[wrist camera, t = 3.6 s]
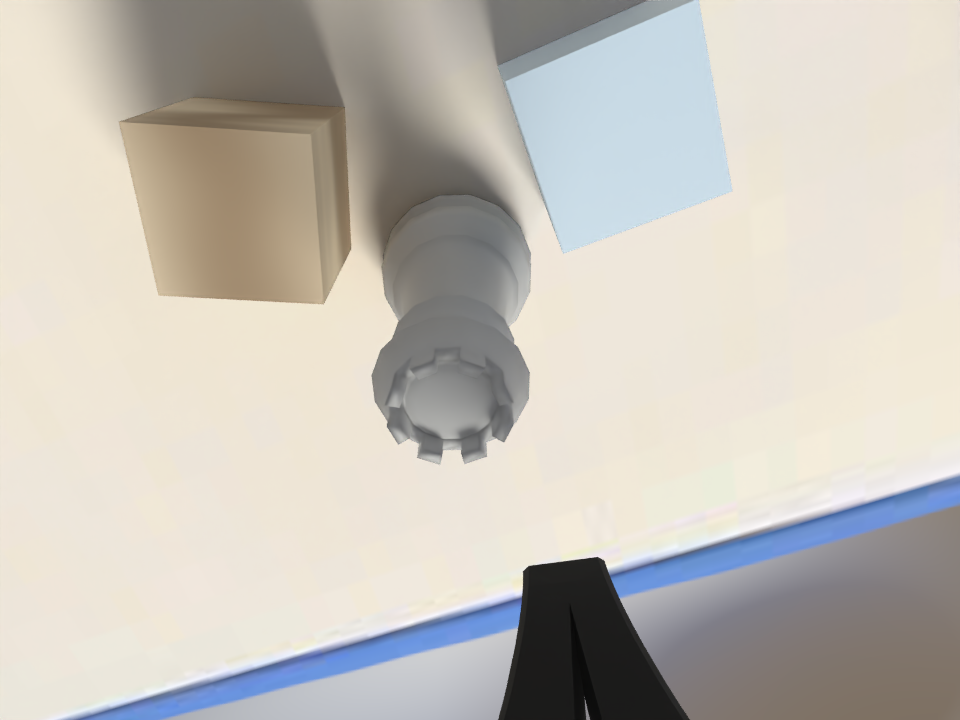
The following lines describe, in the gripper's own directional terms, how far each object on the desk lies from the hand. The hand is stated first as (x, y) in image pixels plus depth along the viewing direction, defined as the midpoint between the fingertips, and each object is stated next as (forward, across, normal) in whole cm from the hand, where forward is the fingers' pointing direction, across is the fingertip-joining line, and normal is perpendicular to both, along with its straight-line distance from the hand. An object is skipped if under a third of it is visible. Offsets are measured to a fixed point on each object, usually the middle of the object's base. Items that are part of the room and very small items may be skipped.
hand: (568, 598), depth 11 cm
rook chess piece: (+11, +2, -3) cm, 11 cm away
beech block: (+10, +6, -6) cm, 14 cm away
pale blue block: (+10, -3, -6) cm, 13 cm away
